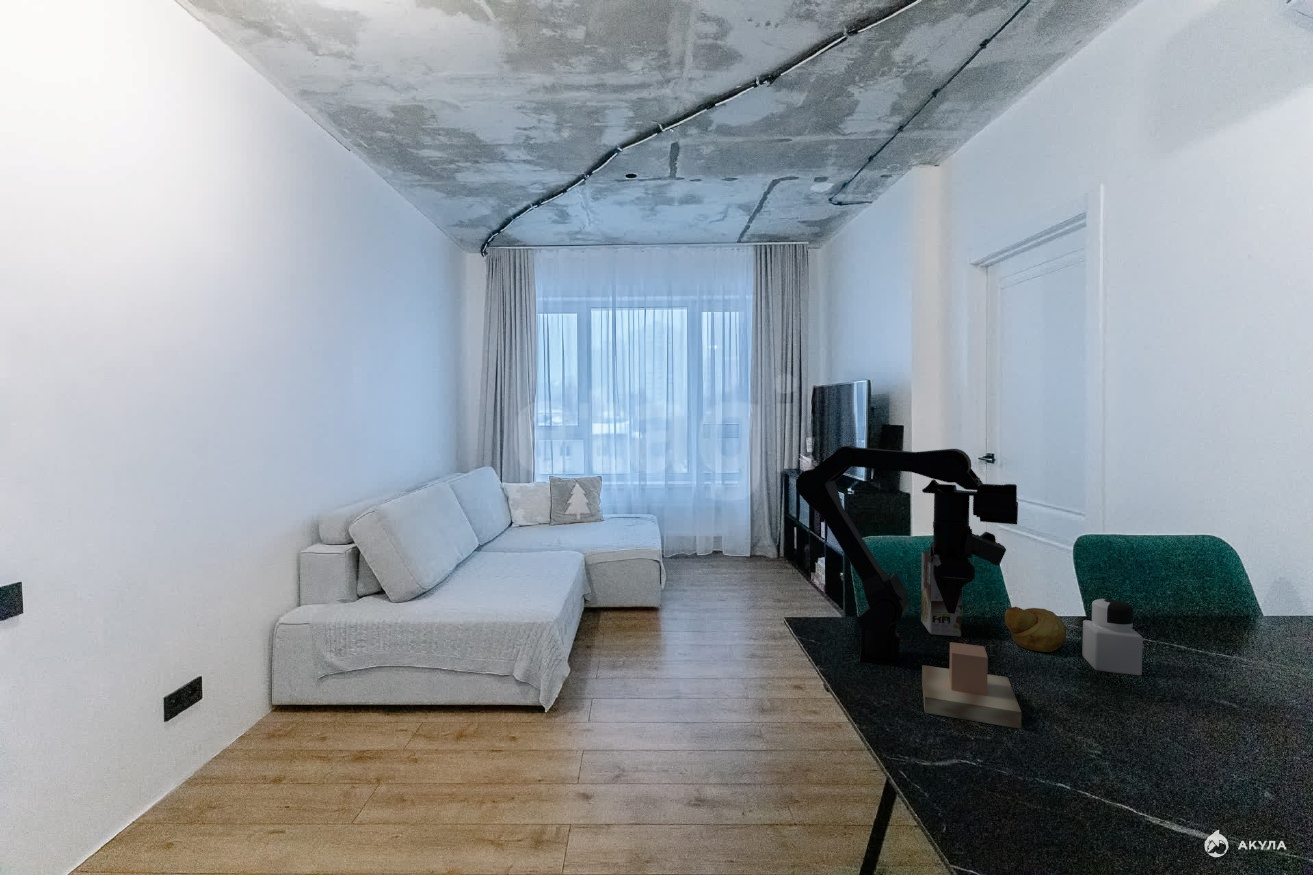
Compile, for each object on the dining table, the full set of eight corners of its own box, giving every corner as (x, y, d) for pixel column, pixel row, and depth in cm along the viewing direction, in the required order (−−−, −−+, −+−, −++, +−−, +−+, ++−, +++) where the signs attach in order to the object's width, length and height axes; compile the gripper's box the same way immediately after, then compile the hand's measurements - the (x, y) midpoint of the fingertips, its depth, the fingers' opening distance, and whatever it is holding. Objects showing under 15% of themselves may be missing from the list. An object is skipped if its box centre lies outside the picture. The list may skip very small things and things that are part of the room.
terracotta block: (951, 690, 96) (952, 652, 96) (949, 677, 101) (949, 642, 101) (987, 695, 95) (987, 657, 94) (983, 682, 99) (983, 646, 99)
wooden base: (924, 712, 94) (924, 696, 94) (922, 679, 106) (922, 665, 106) (1021, 728, 89) (1021, 711, 89) (1006, 691, 101) (1007, 677, 101)
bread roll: (1025, 631, 131) (1026, 594, 130) (1078, 644, 123) (1079, 605, 123) (1000, 645, 123) (1000, 605, 122) (1054, 660, 115) (1055, 618, 115)
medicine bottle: (1126, 661, 114) (1127, 597, 114) (1142, 676, 108) (1144, 609, 107) (1081, 656, 117) (1083, 594, 116) (1094, 670, 110) (1096, 605, 110)
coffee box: (962, 637, 127) (964, 560, 126) (929, 634, 128) (930, 558, 128) (950, 622, 136) (952, 550, 135) (920, 620, 137) (921, 549, 137)
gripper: (1011, 531, 97) (1008, 628, 97) (995, 514, 114) (993, 596, 115) (934, 526, 101) (932, 619, 102) (930, 510, 118) (929, 590, 119)
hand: (949, 605), depth 109 cm, fingers open, 9 cm apart
